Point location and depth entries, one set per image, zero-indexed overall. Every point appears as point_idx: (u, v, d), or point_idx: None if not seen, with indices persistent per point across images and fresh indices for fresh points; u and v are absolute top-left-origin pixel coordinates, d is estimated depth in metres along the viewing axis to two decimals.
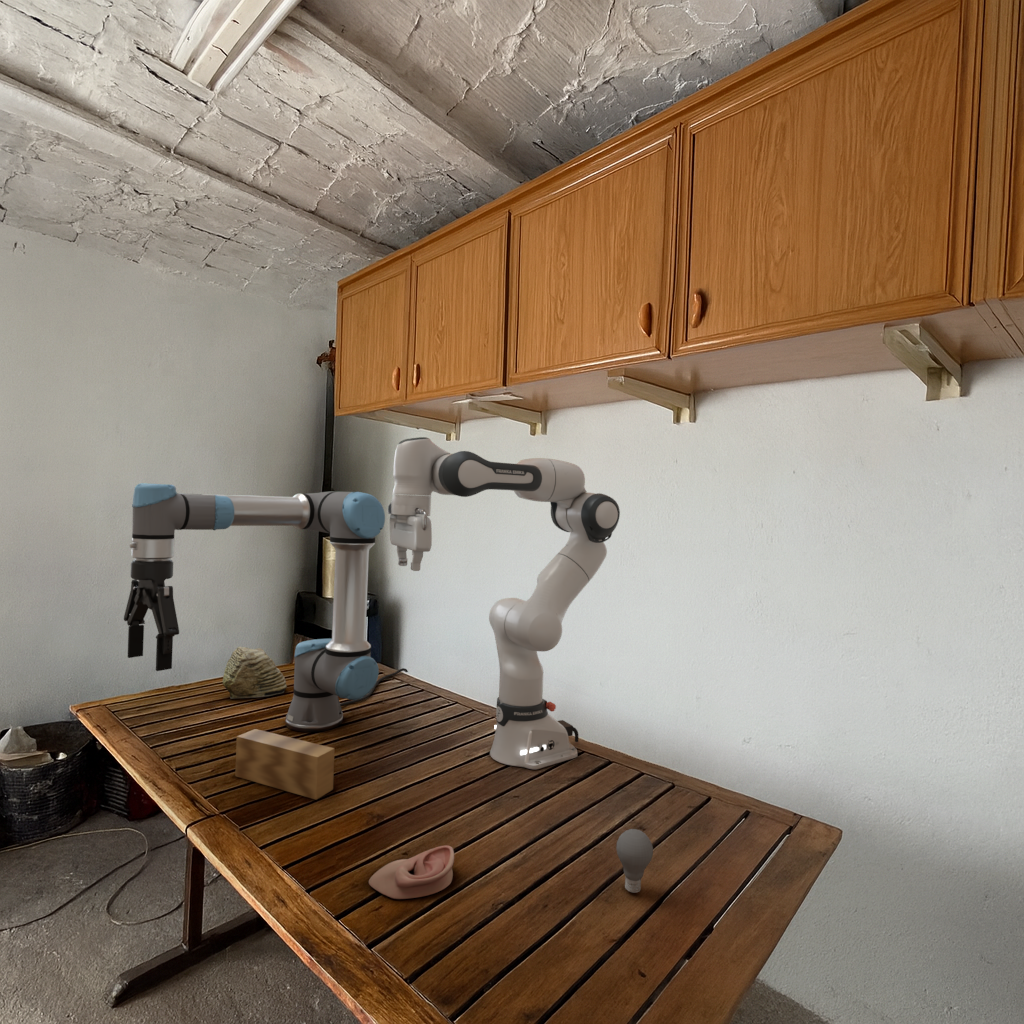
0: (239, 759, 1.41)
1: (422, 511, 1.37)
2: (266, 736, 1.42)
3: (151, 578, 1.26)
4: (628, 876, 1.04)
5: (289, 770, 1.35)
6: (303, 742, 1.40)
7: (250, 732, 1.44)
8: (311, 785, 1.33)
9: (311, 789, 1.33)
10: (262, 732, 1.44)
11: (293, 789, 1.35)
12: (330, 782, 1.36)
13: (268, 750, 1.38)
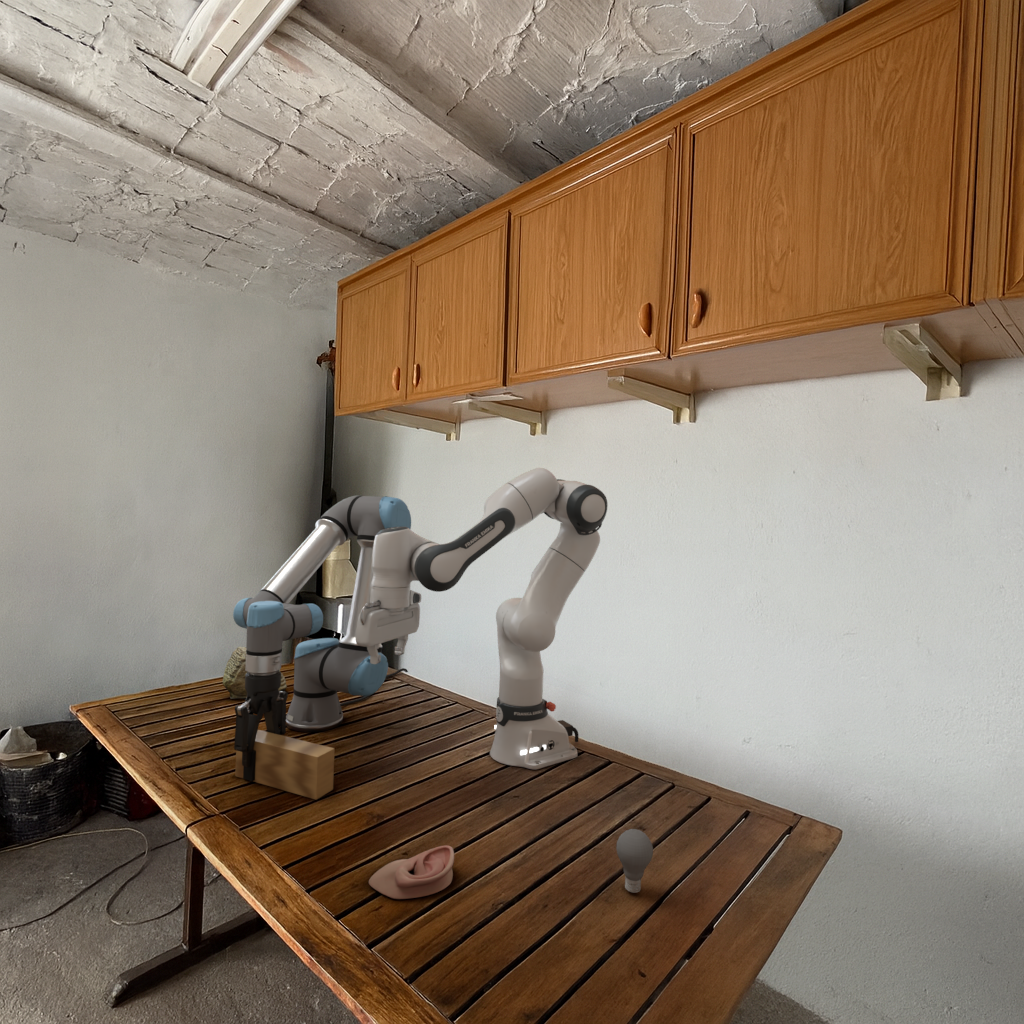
0: (239, 759, 1.41)
1: None
2: (266, 736, 1.42)
3: None
4: (628, 876, 1.04)
5: (289, 770, 1.35)
6: (303, 742, 1.40)
7: None
8: (311, 785, 1.33)
9: (311, 789, 1.33)
10: (262, 732, 1.44)
11: (293, 789, 1.35)
12: (330, 782, 1.36)
13: (268, 750, 1.38)
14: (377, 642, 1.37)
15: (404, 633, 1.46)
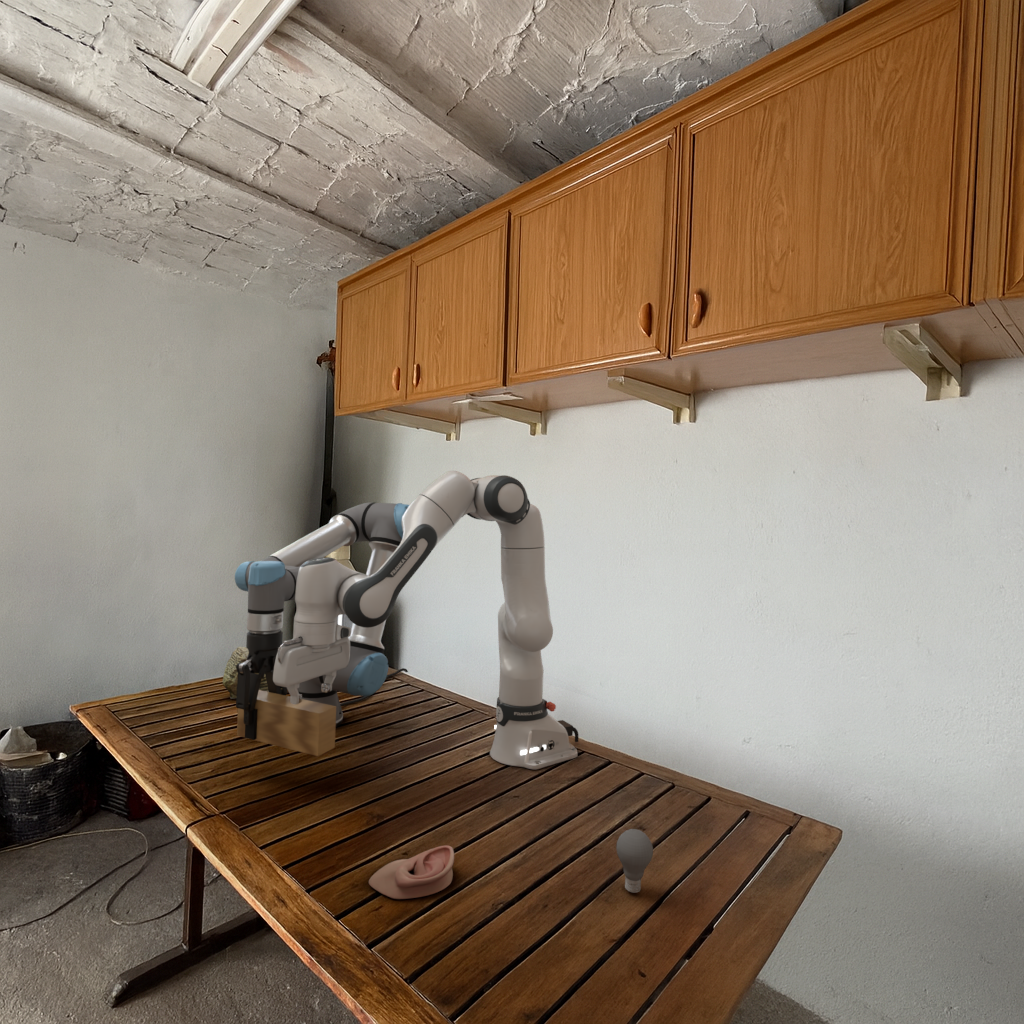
0: (241, 718, 1.41)
1: (283, 642, 1.28)
2: (267, 696, 1.42)
3: None
4: (628, 876, 1.04)
5: (291, 727, 1.35)
6: (305, 701, 1.39)
7: None
8: (313, 741, 1.33)
9: (313, 746, 1.33)
10: (264, 692, 1.44)
11: (295, 746, 1.35)
12: (331, 739, 1.36)
13: (270, 709, 1.37)
14: (296, 681, 1.29)
15: (331, 670, 1.39)
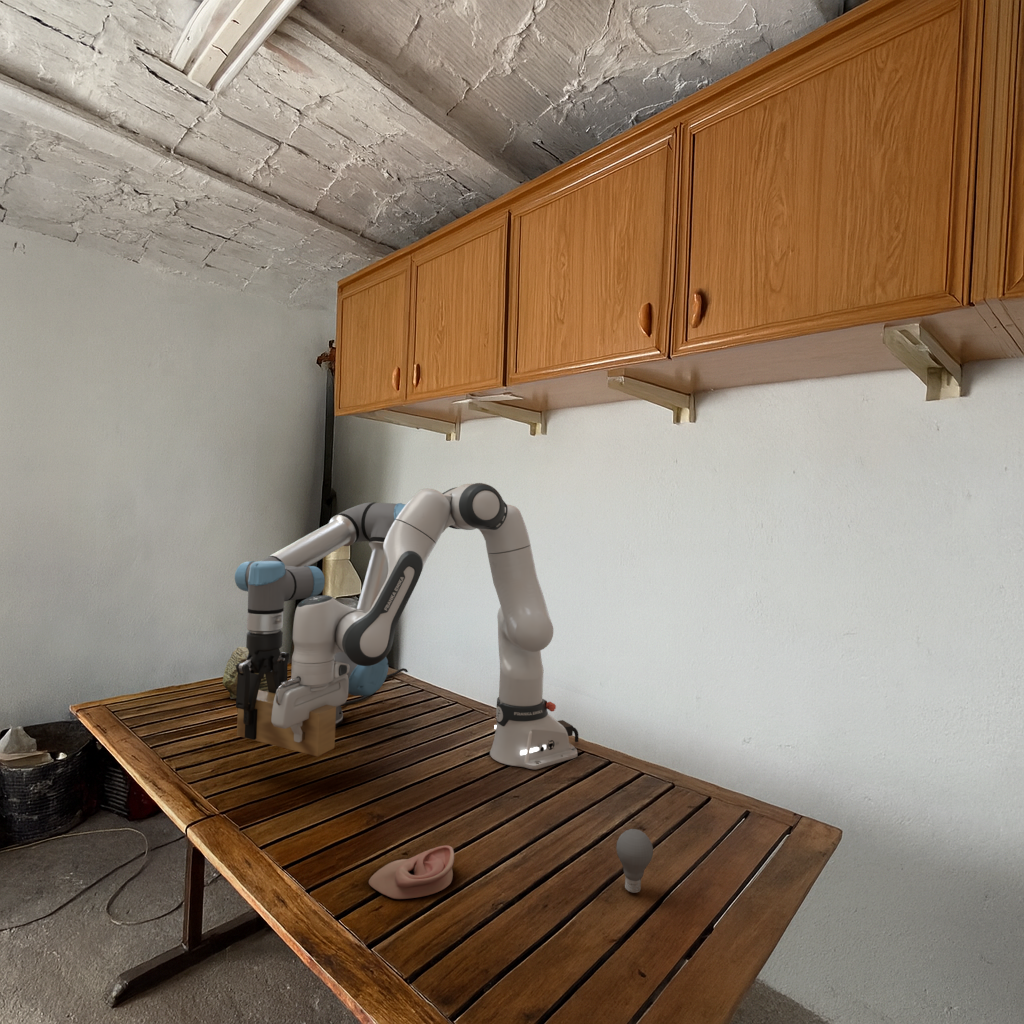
0: (240, 718, 1.41)
1: (281, 684, 1.28)
2: (267, 696, 1.42)
3: None
4: (628, 876, 1.04)
5: None
6: None
7: None
8: (312, 742, 1.33)
9: (313, 746, 1.33)
10: (263, 692, 1.44)
11: (294, 746, 1.35)
12: (331, 740, 1.36)
13: (270, 709, 1.37)
14: (295, 722, 1.29)
15: None
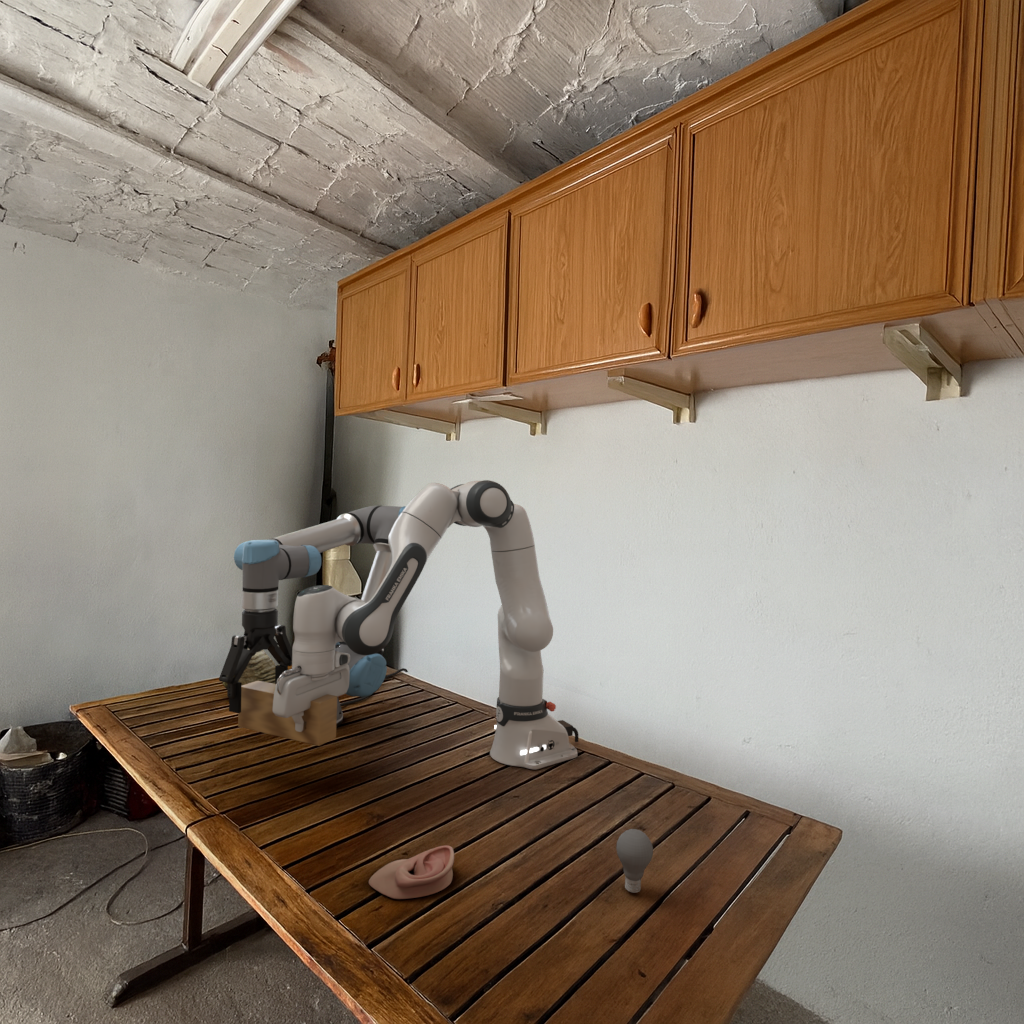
0: (242, 709, 1.41)
1: (282, 673, 1.28)
2: (268, 686, 1.42)
3: None
4: (628, 876, 1.04)
5: None
6: None
7: (253, 683, 1.44)
8: (314, 731, 1.33)
9: (314, 736, 1.33)
10: (264, 683, 1.44)
11: (296, 736, 1.35)
12: (333, 729, 1.36)
13: (271, 699, 1.37)
14: (296, 711, 1.29)
15: None
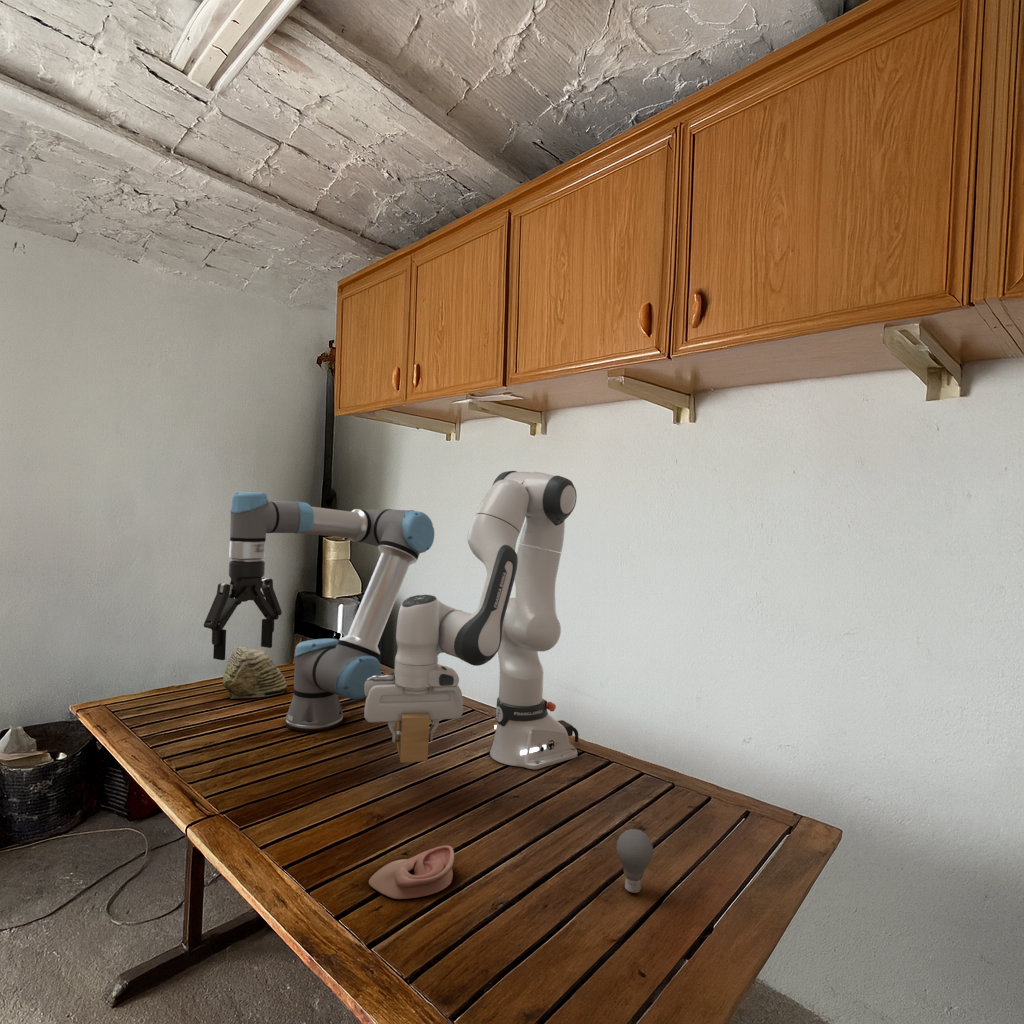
0: None
1: None
2: None
3: None
4: (628, 876, 1.04)
5: (398, 726, 1.33)
6: None
7: None
8: (400, 746, 1.28)
9: (400, 750, 1.28)
10: None
11: (397, 746, 1.32)
12: (422, 751, 1.28)
13: None
14: (381, 719, 1.28)
15: (432, 717, 1.31)
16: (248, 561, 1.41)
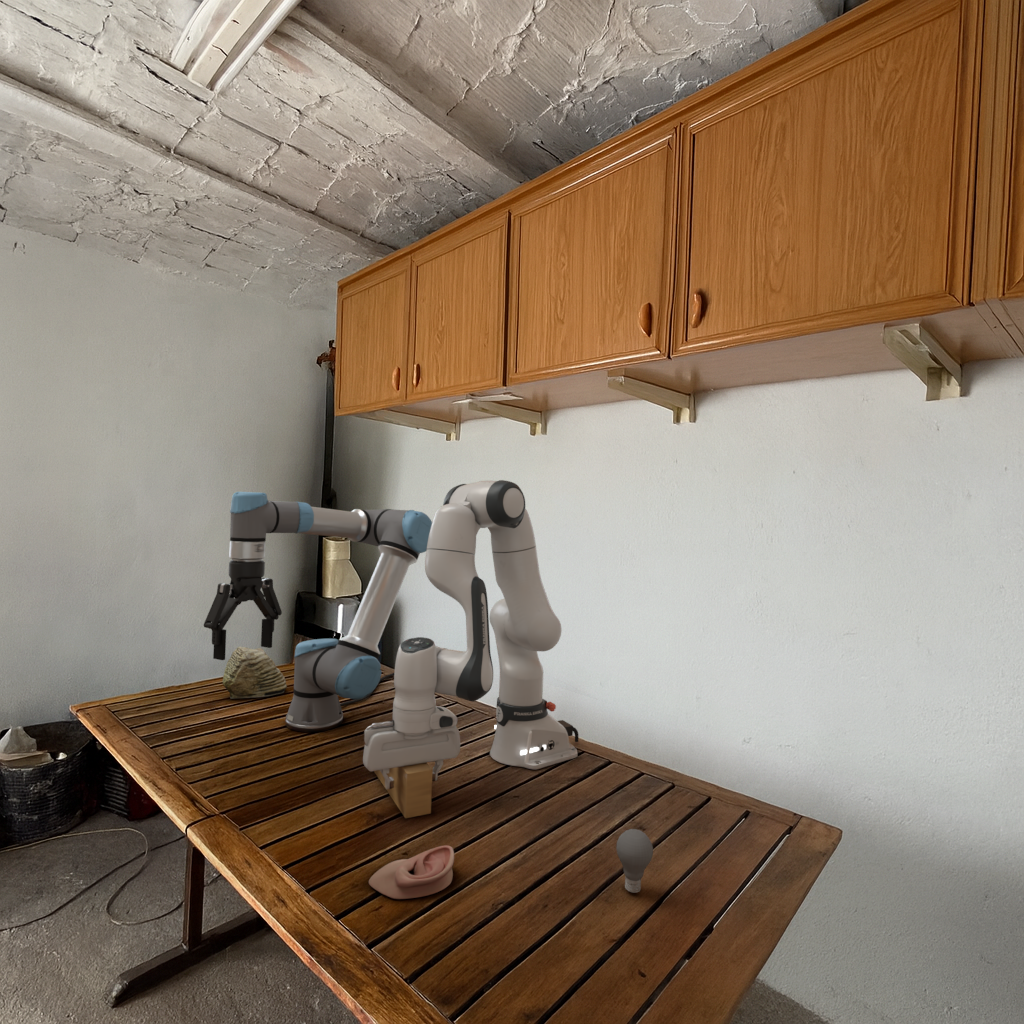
0: None
1: None
2: None
3: None
4: (628, 876, 1.04)
5: (395, 780, 1.33)
6: None
7: None
8: (403, 801, 1.27)
9: (403, 806, 1.27)
10: None
11: (396, 800, 1.32)
12: (426, 804, 1.28)
13: None
14: (382, 767, 1.27)
15: (432, 759, 1.32)
16: (248, 561, 1.41)
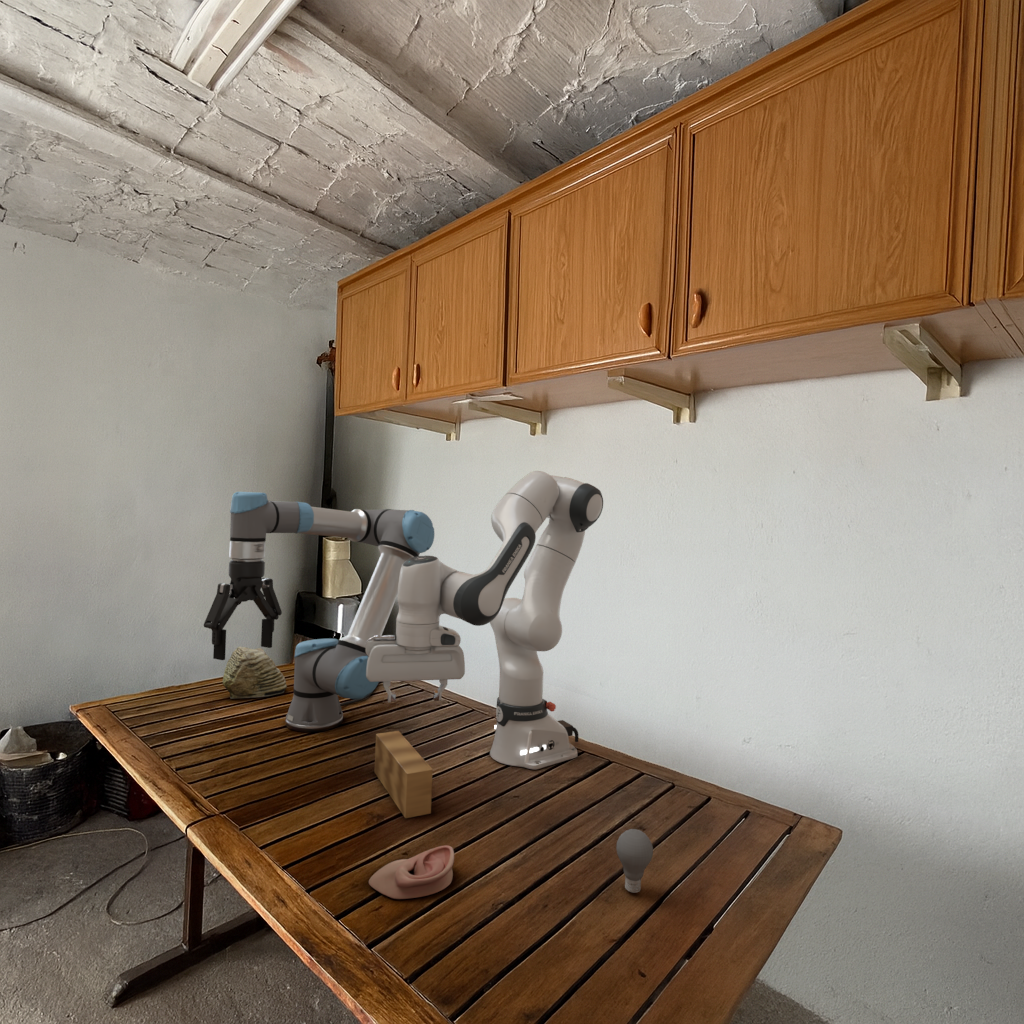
0: (376, 756, 1.45)
1: None
2: (395, 740, 1.43)
3: None
4: (628, 876, 1.04)
5: (395, 780, 1.33)
6: (416, 755, 1.35)
7: (390, 733, 1.47)
8: (403, 801, 1.27)
9: (403, 806, 1.27)
10: (398, 735, 1.46)
11: (396, 800, 1.32)
12: (426, 804, 1.28)
13: (387, 755, 1.38)
14: (383, 679, 1.28)
15: (434, 677, 1.30)
16: (248, 561, 1.41)
